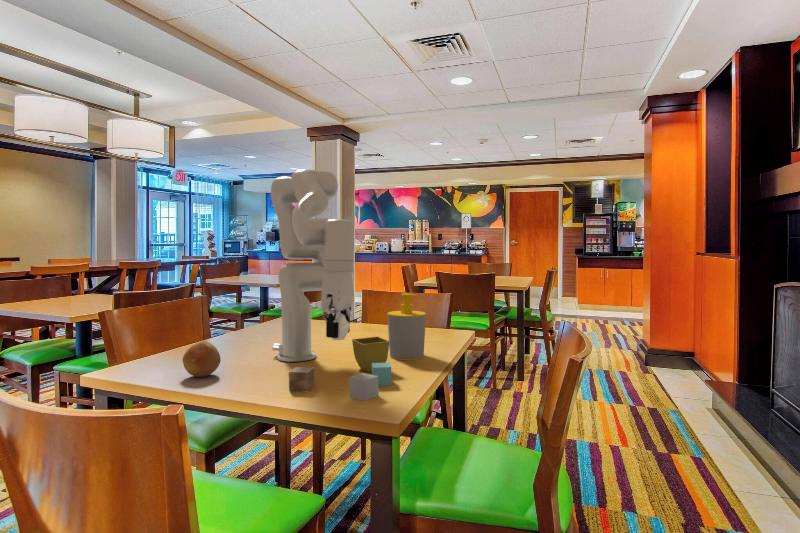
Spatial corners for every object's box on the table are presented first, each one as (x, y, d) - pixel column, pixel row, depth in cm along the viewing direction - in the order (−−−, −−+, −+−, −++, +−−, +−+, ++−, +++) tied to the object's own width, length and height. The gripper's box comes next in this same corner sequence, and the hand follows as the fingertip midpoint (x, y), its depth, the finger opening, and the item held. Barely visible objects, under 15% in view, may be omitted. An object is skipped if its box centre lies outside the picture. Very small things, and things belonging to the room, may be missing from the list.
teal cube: (372, 386, 123) (372, 367, 123) (371, 381, 128) (371, 363, 128) (391, 385, 123) (391, 367, 123) (389, 380, 128) (389, 362, 128)
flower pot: (362, 374, 134) (362, 344, 133) (351, 368, 141) (351, 338, 141) (390, 371, 138) (390, 341, 137) (377, 364, 145) (377, 336, 145)
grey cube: (349, 397, 114) (349, 377, 113) (362, 392, 118) (362, 372, 118) (365, 401, 111) (365, 380, 111) (378, 395, 115) (378, 376, 115)
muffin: (354, 338, 123) (355, 312, 123) (339, 342, 118) (340, 315, 117) (336, 335, 126) (337, 309, 126) (321, 339, 121) (321, 312, 121)
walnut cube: (289, 391, 119) (288, 371, 119) (296, 385, 124) (296, 366, 124) (307, 392, 118) (307, 372, 118) (314, 386, 123) (314, 367, 123)
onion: (183, 373, 135) (182, 339, 134) (220, 370, 139) (219, 337, 138) (182, 382, 126) (181, 346, 125) (221, 378, 130) (220, 343, 129)
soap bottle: (426, 360, 150) (426, 295, 149) (386, 360, 150) (386, 295, 150) (425, 351, 163) (425, 292, 162) (388, 351, 164) (388, 291, 163)
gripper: (340, 264, 130) (339, 327, 132) (309, 268, 114) (309, 340, 115) (365, 265, 128) (364, 329, 129) (337, 269, 111) (336, 343, 113)
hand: (338, 334), depth 122 cm, fingers closed on muffin, 6 cm apart
